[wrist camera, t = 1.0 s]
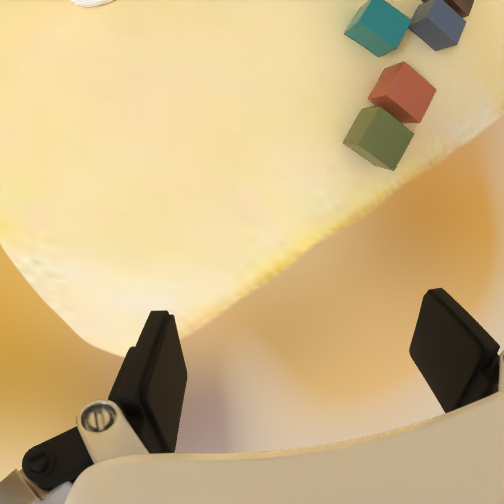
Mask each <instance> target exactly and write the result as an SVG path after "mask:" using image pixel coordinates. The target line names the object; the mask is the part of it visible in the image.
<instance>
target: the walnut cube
mask: <svg viewBox="0 0 504 504" xmlns="http://www.w3.org/2000/svg"><path fill="white" fill-rule="evenodd" d="M422 1H423V2H427V1H429V0H422ZM443 1H444V2H445V3H447V4H448V5H449V6H450V7H451V8H452V9H453V10H454V11H455V12H456V13H457V14H458V15H459V16H461V17H462V18H463V17H466V16H469V13H470V11H471V8H472V5H473V2H474V0H443Z"/></svg>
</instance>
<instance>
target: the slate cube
mask: <svg viewBox="0 0 504 504" xmlns="http://www.w3.org/2000/svg"><path fill="white" fill-rule="evenodd" d="M465 23H466V21H465V20H464V19H463V18H462V17H461V16H459V15H458V14H457V13H456V12H455V11H454V10H453V9H452V8H451V7H450V6H449V5H448V4H447V3H445V2H444V1H443V0H429V1H427V2H425V3H423V4H422V5H420V6H418V8H417V10H416V12H415V14H414V16H413V18H412V20H411V23H410V25H409V27H408V28H409V29H410V30H412V31H413V32H414V33H415V34H417V35H418V36H419V37H420V38H421V39H423V40H424V41H425V42H426V43H427V44H428V45H429V46H431V47H432V48H433V49H434V50H435V51H437V50H440V49H444V48H447V47H450V46H454V45H457V43H458V41H459V38H460V36H461V33H462V31H463V28H464V26H465Z"/></svg>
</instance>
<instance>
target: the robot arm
mask: <svg viewBox="0 0 504 504" xmlns="http://www.w3.org/2000/svg"><path fill="white" fill-rule="evenodd" d="M70 1H72V2H73V3H75V4H77V5H79V6H83V7H94V6H99V5H103V4H106V3H109V2H111V1H113V0H70ZM499 348H500V346H499V344H498V343H497V342H496V341H495V340H494V339H493V338H492V337H491V336H490V335H489V334H488V333H487V332H486V331H485V330H484V329H483V327H482V326H480V324H479V323H478V322H476V320H475V319H474V318H473V317H472V316H471V315H470V314H469V313H468V312H467V311H466V310H465V309H464V308H462V307H461V305H459V303H457V302H456V301H455V300H454V299H453V298H452V297H451V296H450V295H449V294H448V293H447V292H446V291H445V290H444V289H442V288H437V289H430V290H428V292H427V293H426V294H425V295H424V297H423V301H422V305H421V309H420V313H419V317H418V321H417V324H416V328H415V331H414V335H413V338H412V342H411V346H410V350H409V352H410V355H411V358H412V359H413V361H414V362H415V364H416V365H417V367H418V368H419V370H420V372H421V373H422V375H423V377H424V378H425V380H426V381H427V383H428V385H429V386H430V388H431V390H432V391H433V393H434V395H435V396H436V398H437V400H438V401H439V403H440V404H441V406H442V408H443V410H444V412H445V414H443V415H440V416H437V417H434V418H431V419H428V420H425V421H422V422H419V423H415V424H412V425H409V426H406V427H402V428H399V429H395V430H391V431H387V432H384V433H380V434H376V435H371V436H367V437H362V438H358V439H353V440H348V441H343V442H337V443H331V444H325V445H319V446H313V447H305V448H297V449H288V450H278V451H265V452H249V453H226V454H225V453H224V454H194V453H191V454H189V453H187V454H179V453H178V454H177V453H176V454H175V453H174V451H175V447H176V441H177V434H178V428H179V422H180V416H181V410H182V404H183V399H184V393H185V388H186V382H187V369H186V366H185V361H184V357H183V353H182V349H181V345H180V340H179V336H178V332H177V327H176V323H175V318H174V315H169V313H168V311H151V312H150V314H149V317H148V319H147V321H146V323H145V326H144V328H143V330H142V332H141V335H140V337H139V339H138V342H137V344H136V346H135V347H130V349H129V350H128V352H127V355H126V357H125V359H124V361H123V364H122V366H121V369H120V371H119V373H118V376H117V378H116V380H115V383H114V385H113V387H112V390H111V392H110V395H109V397H108V400H105V399H99V400H94V401H91V402H89V403H87V404H85V405H84V406H83V407H82V408H81V409H80V410H79V412H78V414H77V417H76V424H77V426H76V427H74V428H72V429H70V430H68V431H66V432H64V433H62V434H60V435H58V436H56V437H54V438H51V439H50V440H47V441H45V442H43V443H41V444H39V445H36V446H34V447H33V448H31V449H29V451H27V453H26V454H25V455H24V458H23V460H22V468H23V469H21V470H20V471H18V470H17V469H15V470H14V471H13V472H12V473H11V474H9V475H8V476H7V477H6V478H5V479H4V480H2V481H1V482H0V504H504V351H503V352H502V353H501V354H500V356H499V355H498V354H497V352H498V350H499Z"/></svg>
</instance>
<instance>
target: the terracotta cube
mask: <svg viewBox="0 0 504 504" xmlns="http://www.w3.org/2000/svg"><path fill="white" fill-rule="evenodd" d="M435 92H436V89H435V88H434V87H433V86H432V85H431V84H429V83H428V82H427V81H426V80H425V79H424V78H423V77H422V76H420V75H419V74H418V73H417V72H416V71H415V70H414V69H412V68H411V67H410V66H409V65H408V64H406V63H405V62H402V63H399V64H396V65H394V66H391V67H388V68H386V69H384V71H383V73H382V75H381V76H380V78H379V80H378V82H377V83H376V85H375V87H374V89H373V91H372V92H371V94H370V96H369V98H368V99H369V100H370V101H371V102H373V103H374V104H375V105H377V106H378V107H379V106H380V107H382V108H383V109H384V110H385V111H387V112H388V113H389V114H391V115H392V116H393V117H394V118H396V119H397V120H398V121H399V122H401V123H420V122H421V120H422V118H423V116H424V114H425V112H426V110H427V108H428V106H429V104H430V102H431V100H432V98H433V96H434V94H435Z"/></svg>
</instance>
